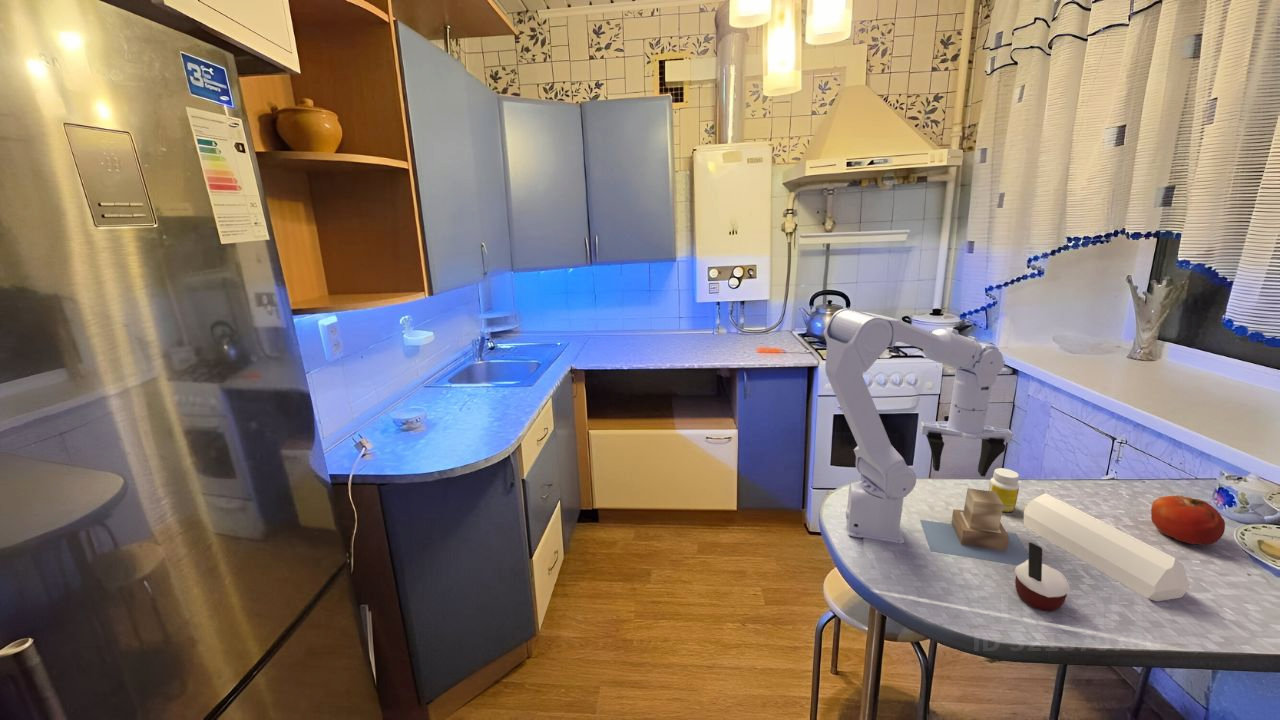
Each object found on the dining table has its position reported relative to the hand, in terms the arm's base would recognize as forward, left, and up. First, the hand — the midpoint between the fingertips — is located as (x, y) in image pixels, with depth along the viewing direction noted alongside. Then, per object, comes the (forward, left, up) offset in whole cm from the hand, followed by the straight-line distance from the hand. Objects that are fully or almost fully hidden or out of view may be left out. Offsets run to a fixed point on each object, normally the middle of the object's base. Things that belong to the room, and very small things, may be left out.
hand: (958, 471), depth 95 cm
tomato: (+38, +5, -11) cm, 40 cm away
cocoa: (+7, -21, -11) cm, 25 cm away
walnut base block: (+3, -6, -10) cm, 12 cm away
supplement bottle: (+10, +6, -11) cm, 16 cm away
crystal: (+21, -6, -11) cm, 24 cm away
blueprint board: (+2, -8, -10) cm, 13 cm away
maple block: (+3, -6, -7) cm, 10 cm away
